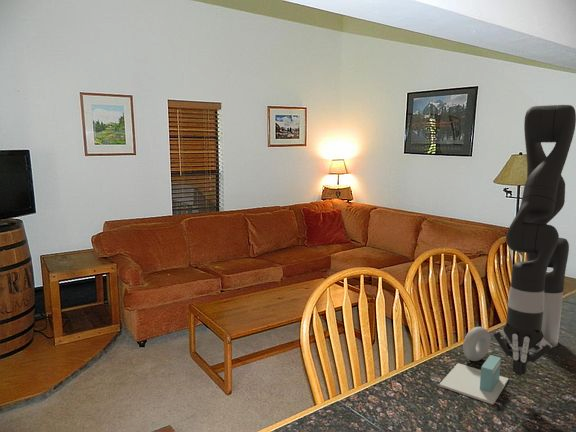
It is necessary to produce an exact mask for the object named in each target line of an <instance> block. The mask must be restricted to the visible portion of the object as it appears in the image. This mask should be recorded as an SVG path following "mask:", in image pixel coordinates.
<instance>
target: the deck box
mask: <svg viewBox="0 0 576 432" xmlns="http://www.w3.org/2000/svg"><path fill="white" fill-rule="evenodd" d="M501 363H502V357H499V356H495V355H492V354H489V356H488V357H487V358H486V360H485V361H484V362H483V363H482V365H481V367H480V370H481V378H480V389H481V390H484V391H487V392H490V393H491V391H492V390H493V388H494V387H495V385H496V384H497V382H498V381H499V376H501V374H500V373H501Z"/></svg>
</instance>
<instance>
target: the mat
mask: <svg viewBox="0 0 576 432" xmlns="http://www.w3.org/2000/svg"><path fill="white" fill-rule="evenodd" d="M480 378H481V369H478V368H475V367H471V366H469V365H466V364H461V363H459V362H458V363H456V365H455V366H453V368H452V369H451V370H450V371H449V373H448V374H447V375H446V376H445V377H444V378H443V379H442V381H441V382H440V383H439V385H438V386H439V387H441V388H443V389H447V390H449V391H452V392H456V393H458V394H461V395H464V396H466V397H469V398H473V399H475V400H479V401H481V402H484V403H487V404H490V405H494V404H495V403H496V401H497V399H498V398H499V396H500V394H501V393H502V391H503V390H504V388H505V387H506V385H507V383H508V381H509V378H508V377H506V376H502V375H500V376H499V381H498V382H497V384H496V385H495V387H494V388H493V390H492V391H491V393H490V392H487V391H484V390H481V389H480Z"/></svg>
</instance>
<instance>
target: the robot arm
mask: <svg viewBox="0 0 576 432" xmlns="http://www.w3.org/2000/svg"><path fill="white" fill-rule="evenodd" d="M523 124H524V126H523V127H524V129H523V130H524V142H525V150H526V151H525V152H526V163H527V168H526V170H527V171H526V173H527V174H526V175H527V176H526V180H525V183H524V186H523V191H522V197H521V202H520V206H519V209H518V211H517V213H516V214H515V217H514V218H513V220H512V222H511V224H510V225H509V227H508V229H507V232H506V235H505V241H506V245H507V247H508V248H509V249H510V250H511V251H513V252H517V253H525V254H526V255H525V256H526V259H527V260H521V261H517V262H515V263H514V264H513V265H512V269H511V279H510V288H509V292H508V297H507V298H508V299H507V308H506V309H507V310H506V311H507V312H506V321H505V322H506V323H505V325H504V326H503V328H502V329H497V330H496V331H495V332H494V334H493V337H494V338H495V340H496V341H497V343H498V345H499V346H500V348H501V349H502V351H503V352H504V354H505V355H506V356H508V357H510V358H512V359H513V361H512V371H513V372H514V375H516V376H519V377H523V375H525V374H526V373H527V370H528V363H535V361H536V362H537V361H538V359H540V358H542V357H543V356H544V355H545V354H547V353H549V352H550V351H551V349H553V348H556V347H558V345H559V344H558V343H559V336H560V326H561V325H560V324H561V319H562V318H561V317H562V307H563V298H564V297H563V296H564V291H565V290H564V287H565V279H566V277H565V276H566V270H567V263H568V258H569V254H570V253H569V252H570V244H569V241H568V239H567V238H563V237H560V236H559V232H558V230H557V228H556V227H555V226H553V225H551V224H548V223H549V222H551V220H553V219H554V218H555V216H556V215H558V214H559V212H561V210H562V209H563V207H564V205H565V203H566V201H565V199H566V182H565V179H564V178H563V176H562V173H563V170H564V167H565V164H566V161H567V158H568V154H569V152H570V148H571V144H572V141H573V138H574V134H575V131H576V109H575V107H574V106H573V105H571V104H554V105H553V104H549V105H534V106H531V107H528V109H527V110H526V112H525V115H524V123H523ZM542 143H554V146H553V148H552V150H551V151H550V152H549V154H548V155H546V153H545V151H544V148H543V145H542ZM548 268H550V269H551V268H552V271H550V272H547V271H548ZM506 337H507V338H508V340H509V342H508V340H507V339H506ZM510 343H511V344H510ZM511 345H512V346H511ZM534 347H539V349H536V351H534V352H533V353H532V354H530V350H531V349H533V348H534Z"/></svg>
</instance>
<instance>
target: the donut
mask: <svg viewBox="0 0 576 432" xmlns="http://www.w3.org/2000/svg"><path fill="white" fill-rule="evenodd" d="M491 343H492V342H491V335H490V332H489V331H488V329H486V328H484V327H483V326H474V327H473V328H471V329H470V330H469V331H468V332H467V333H466V335H465V337H464V339H463V344H462V351H463V355H464V356H465V358H466V359H467V360H469V361H472V362H479V361H480V360H482V359H484V358H485V356H487V353H488V352H489V350H490V346H491Z"/></svg>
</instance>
